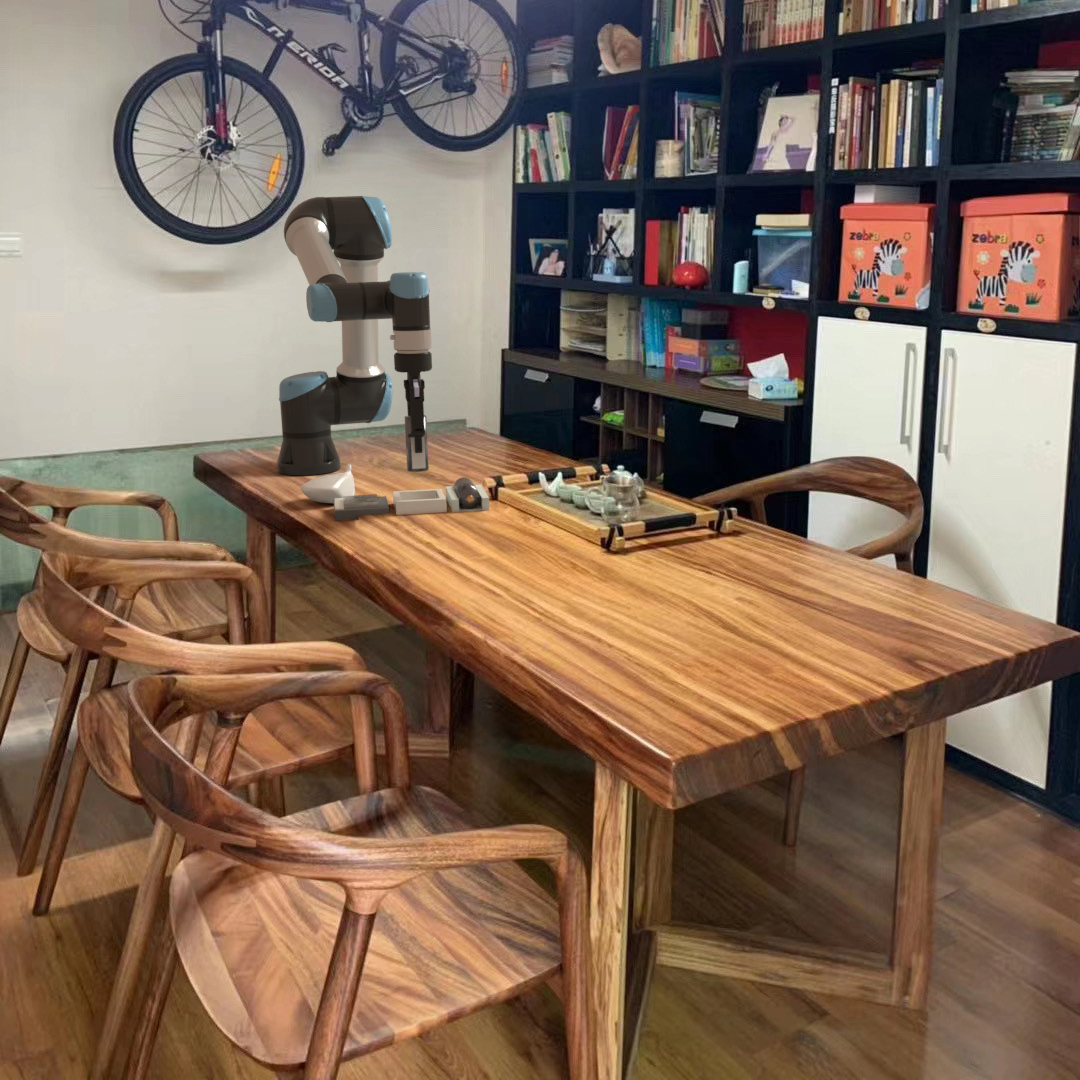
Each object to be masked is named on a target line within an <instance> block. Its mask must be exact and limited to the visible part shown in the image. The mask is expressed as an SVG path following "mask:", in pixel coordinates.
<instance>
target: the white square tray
mask: <svg viewBox="0 0 1080 1080" xmlns="http://www.w3.org/2000/svg"><path fill="white" fill-rule="evenodd" d="M392 496H393V497H392V498H393V507H394V511H395V514H396V516H403V515H419V514H420V515H421V514H434V513H435V514H436V513H447V512H448V511H447V510H448V509H447V507H448V505H447V504H448V503H447V499H446V494H444V491H443V488H429V489H415V490H414V489H412V490H411V489H410V490H396V491H392Z"/></svg>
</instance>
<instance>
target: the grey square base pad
mask: <svg viewBox="0 0 1080 1080" xmlns="http://www.w3.org/2000/svg"><path fill="white" fill-rule="evenodd" d="M377 498H378V506H376V507H359V508H344V503H343V498H334V504H333V515H334V521H335V522H336V521H337V522H338V521H339V522H340V521H352V520H353V521H354V520H360V517H359V516H370V515H371V516H372V515H387V514H390V508H389V504H388V503H389V502H388V498H387V496H385V495H383V496H377Z"/></svg>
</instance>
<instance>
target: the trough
mask: <svg viewBox="0 0 1080 1080" xmlns="http://www.w3.org/2000/svg"><path fill="white" fill-rule="evenodd" d="M474 485H475V487H476V489H477V490H478V492H479V494H480V497H481V500H480V503H479V505H478V506H477V507H476V508H473V509H466V508H464V507H463V506H462V505H461V504H460V502H459V499H458V497H457V495H456V493H455V491H454V486H453V485H452V486H451V485H449V486H445V497H446V502H447V504H448V505H449V508H450V510H451V512H452V513H460V512H475V511H476V512H477V511H478V512H479V511H490V497H489V496H488V494H487V492H486V491H485V489H484V487H483V485H482V484H474Z"/></svg>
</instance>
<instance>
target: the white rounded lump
mask: <svg viewBox="0 0 1080 1080" xmlns="http://www.w3.org/2000/svg"><path fill="white" fill-rule="evenodd" d="M300 490H301V492H302V494H303V495H304V496H305V497H307V498H308V499H310V500H311V501H313V502H315V503H322V504H333V505H334V498H343V496H355V494H356V489H355V479H354V475H353V473H352V464H349V463H348V464H346V465H345V470H344V471H343V472H341V473H334V474H326V475H322V476H318V477H315V478H312V479H309V480H308V481H307V482H305V483H304V484H302V485H301V487H300Z"/></svg>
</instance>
